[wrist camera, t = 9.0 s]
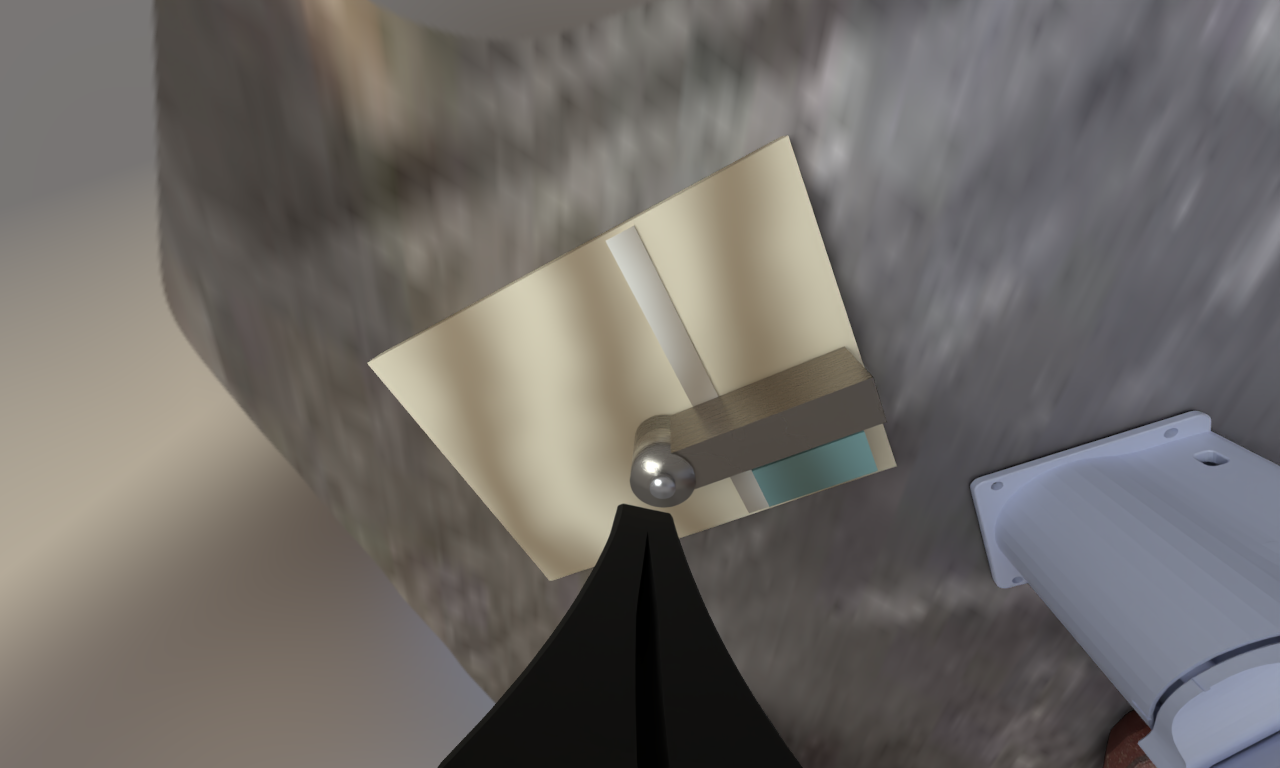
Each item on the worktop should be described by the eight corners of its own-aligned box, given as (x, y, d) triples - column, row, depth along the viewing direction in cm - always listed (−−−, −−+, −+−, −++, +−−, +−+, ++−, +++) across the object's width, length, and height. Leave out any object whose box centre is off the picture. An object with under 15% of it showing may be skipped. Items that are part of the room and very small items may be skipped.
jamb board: (781, 136, 16) (812, 131, 13) (887, 453, 22) (927, 508, 18) (380, 354, 21) (323, 393, 17) (554, 566, 26) (537, 627, 23)
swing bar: (649, 470, 21) (647, 522, 18) (624, 427, 20) (617, 475, 17) (859, 392, 19) (896, 437, 16) (842, 339, 18) (878, 377, 15)
